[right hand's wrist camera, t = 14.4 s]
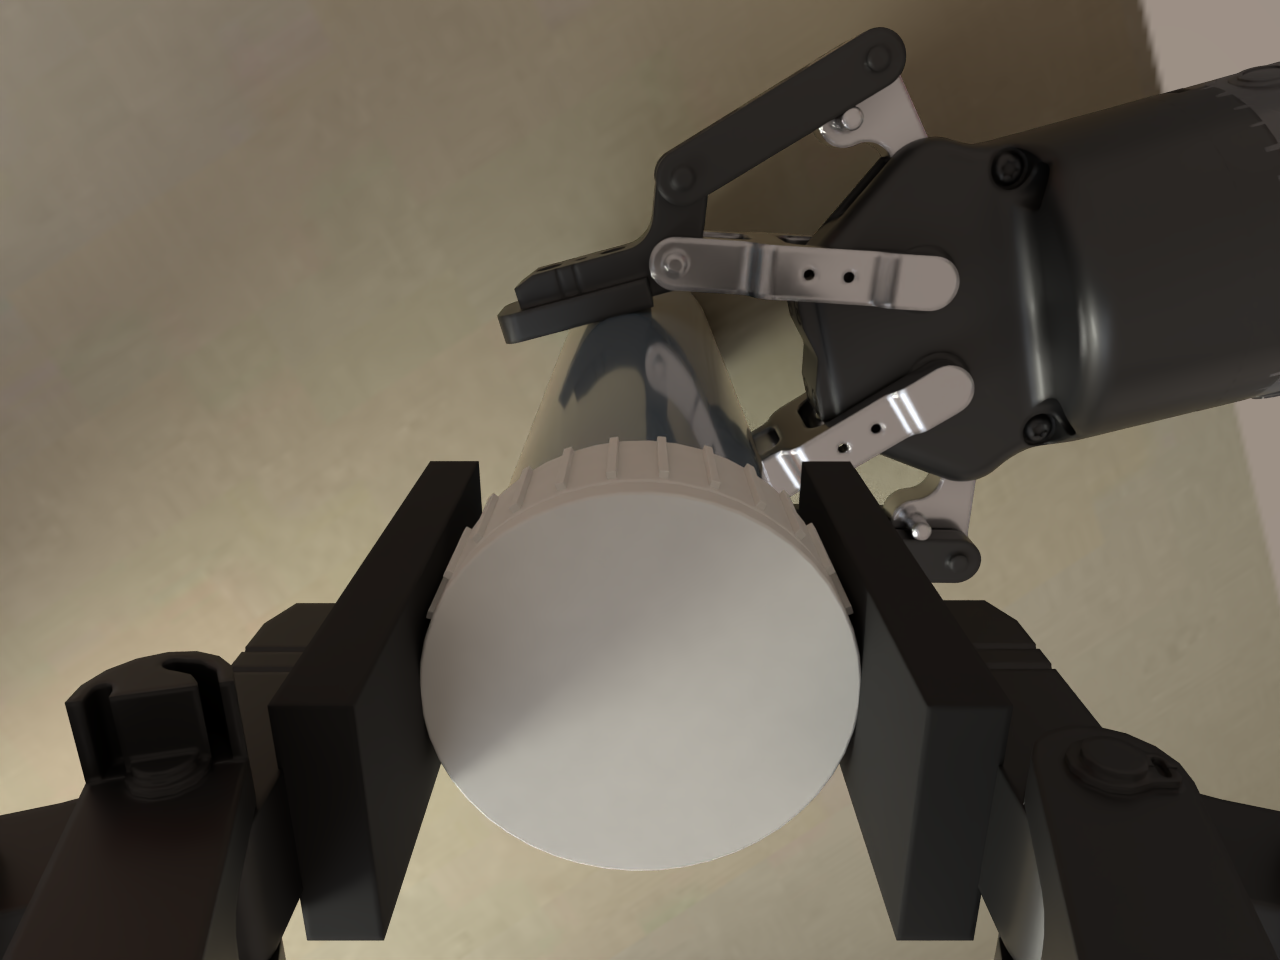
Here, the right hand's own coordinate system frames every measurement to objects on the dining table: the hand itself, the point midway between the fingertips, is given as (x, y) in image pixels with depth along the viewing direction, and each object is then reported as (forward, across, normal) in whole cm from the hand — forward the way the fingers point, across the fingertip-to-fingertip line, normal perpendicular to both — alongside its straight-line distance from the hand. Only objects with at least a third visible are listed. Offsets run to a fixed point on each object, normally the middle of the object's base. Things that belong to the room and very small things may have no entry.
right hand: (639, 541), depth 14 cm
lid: (-4, 0, 0) cm, 4 cm away
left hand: (+9, -3, -1) cm, 9 cm away
